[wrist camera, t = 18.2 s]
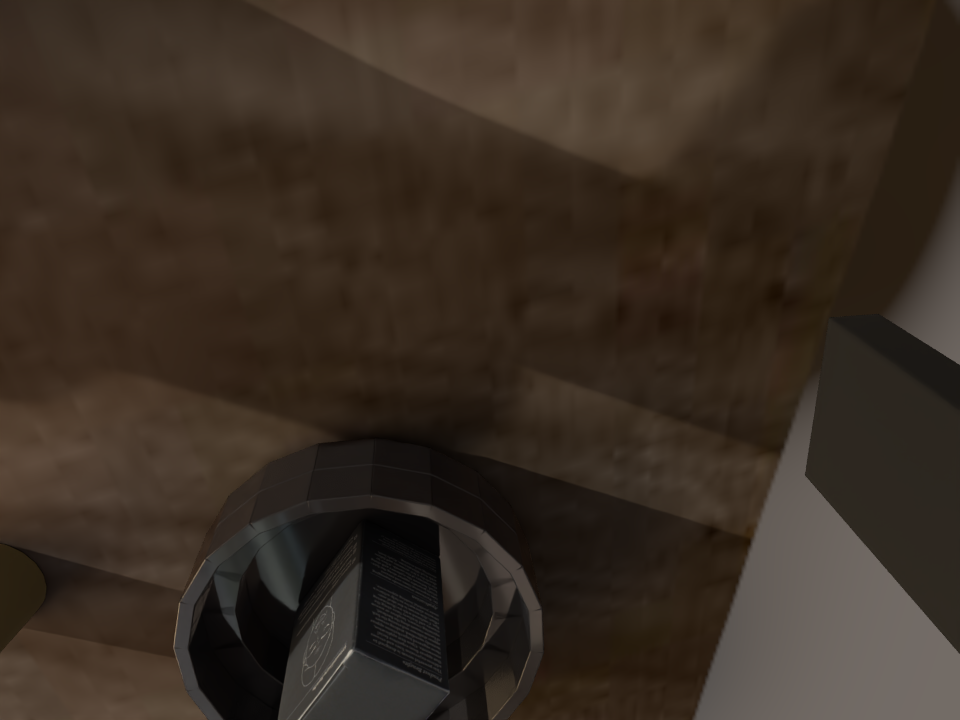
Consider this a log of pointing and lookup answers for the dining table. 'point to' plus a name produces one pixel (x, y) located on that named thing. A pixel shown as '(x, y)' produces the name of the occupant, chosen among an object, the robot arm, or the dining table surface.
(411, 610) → the box
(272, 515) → the bowl
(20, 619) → the cork
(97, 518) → the dining table surface
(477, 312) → the dining table surface
